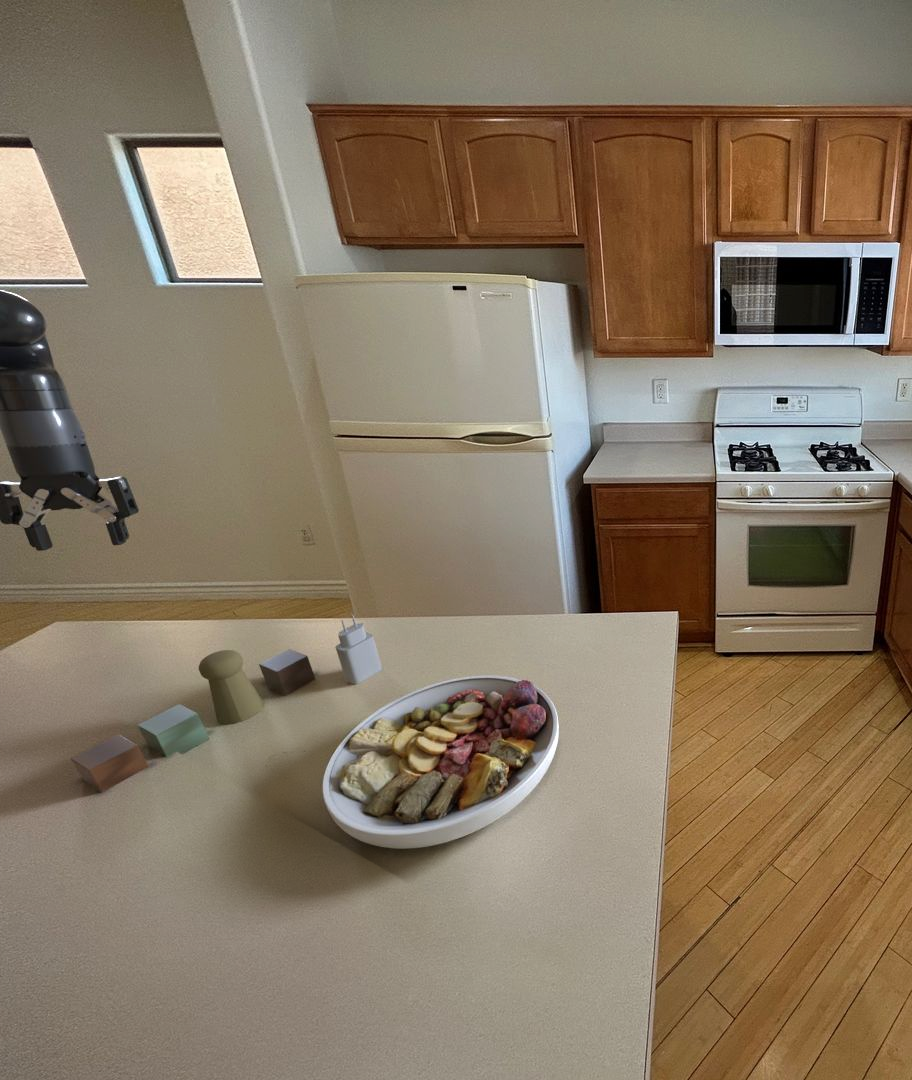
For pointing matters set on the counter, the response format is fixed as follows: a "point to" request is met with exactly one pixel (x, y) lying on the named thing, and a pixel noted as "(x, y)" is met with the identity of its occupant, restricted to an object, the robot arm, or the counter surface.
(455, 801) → the bowl
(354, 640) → the power adapter
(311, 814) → the counter surface
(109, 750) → the block row
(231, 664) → the cork
